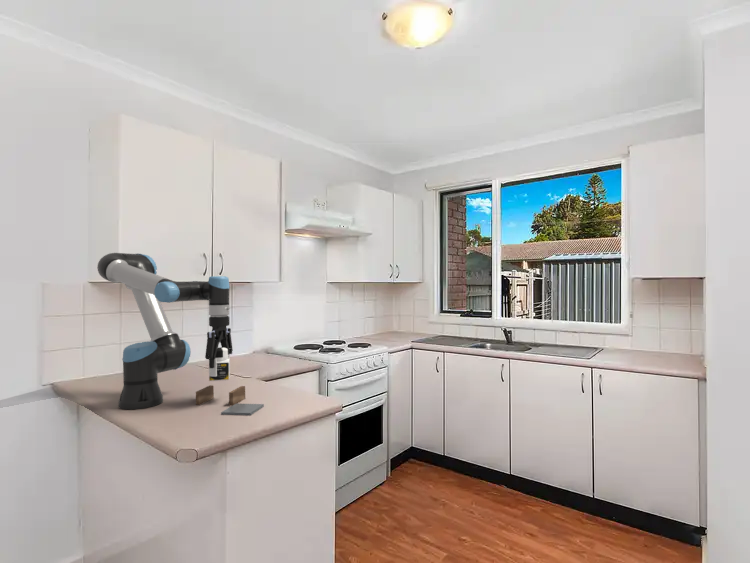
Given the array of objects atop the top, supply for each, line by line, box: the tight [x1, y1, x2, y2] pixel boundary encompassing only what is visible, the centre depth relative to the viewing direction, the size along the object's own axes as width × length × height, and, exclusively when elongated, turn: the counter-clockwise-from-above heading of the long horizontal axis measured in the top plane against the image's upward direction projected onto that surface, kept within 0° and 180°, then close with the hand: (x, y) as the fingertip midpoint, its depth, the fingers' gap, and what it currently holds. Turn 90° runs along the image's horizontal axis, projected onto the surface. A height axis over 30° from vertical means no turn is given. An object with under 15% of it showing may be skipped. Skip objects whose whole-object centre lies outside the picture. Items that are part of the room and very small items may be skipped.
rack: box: [195, 385, 246, 407], centre depth 171 cm, size 15×10×5 cm, turn 81°
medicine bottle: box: [208, 346, 231, 382], centre depth 171 cm, size 7×7×12 cm
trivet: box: [220, 403, 265, 416], centre depth 159 cm, size 11×11×1 cm
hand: (219, 373), depth 171 cm, fingers closed on medicine bottle, 9 cm apart
